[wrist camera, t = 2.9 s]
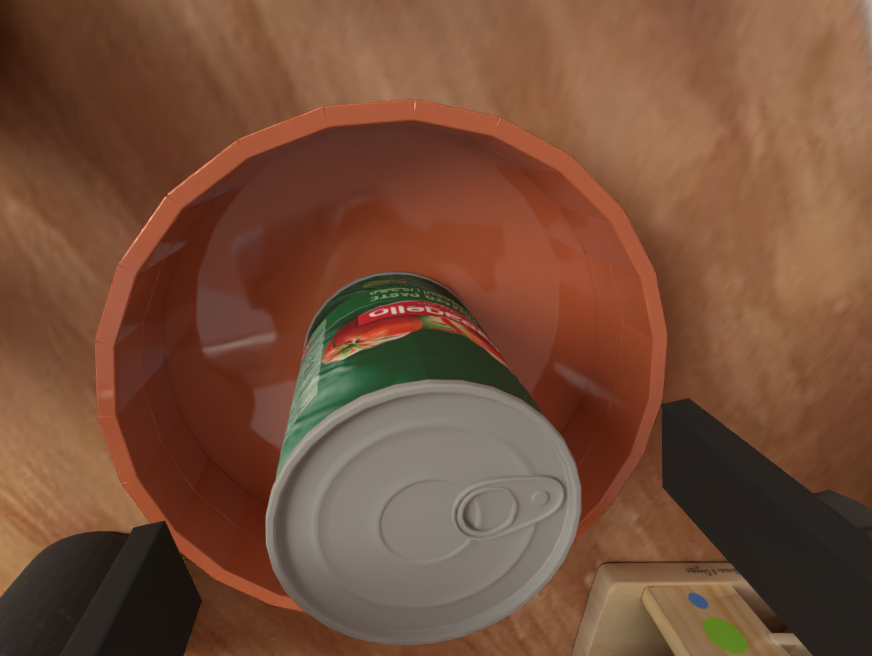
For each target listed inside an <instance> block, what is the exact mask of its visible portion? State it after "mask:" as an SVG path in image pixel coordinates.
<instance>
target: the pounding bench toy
mask: <svg viewBox="0 0 872 656" xmlns="http://www.w3.org/2000/svg"><path fill="white" fill-rule="evenodd" d="M571 656H813V655H812V654H811V653H810V652H809V651H808V650H807V649H806V647H805V646H804V645H803V644H802V643H801V642H800V641H799V640H798V638H797V637H796V636H795V635H794V634H793V633H792V632H791V631H790V629H789V628H788V627H787V626H786V625H785V624H784V623H783V622H782V620H781V619H780V618H779V617H778V616H777V615H776V614H775V613H774V612H773V610H772V609H771V608H770V607H769V606H768V605H767V604H766V603H765V601H764V600H763V599H762V598H761V597H760V596H759V595H758V594H757V592H756V591H755V590H754V589H753V588H752V587H751V586H750V585H749V583H748V582H747V581H746V580H745V579H744V578H743V577H742V576H741V574H740V573H739V572H738V571H737V570H736V569H735V568H734V567H733V566H732V564H731V563H607V564H603V565H601V566H600V567H599V568H598V570H597V573H596V576H595V579H594V582H593V585H592V588H591V591H590V595H589V598H588V601H587V604H586V608H585V612H584V615H583V618H582V621H581V624H580V627H579V631H578V634H577V637H576V641H575V644H574V647H573V650H572V654H571Z"/></svg>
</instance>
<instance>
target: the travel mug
mask: <svg viewBox="0 0 872 656" xmlns="http://www.w3.org/2000/svg"><path fill="white" fill-rule="evenodd" d="M128 536H129V535H125V534H120V533H112V532H91V533H83V534H78V535H74V536H70V537H67V538H64V539H62V540H60V541H57V542H55V543H54V544H52V545H50V546H49V547H47V548H46V549H44V550H43V551H42V552H41V553H39V554H38V555H37V556H36V557H35V558H34V559H33V560H32V561H31V563H30V564H29V565H28V566H27V567H26V568H25V569H24V570H23V572H22V573H21V574H20V575H19V576H18V577H17V579H16V580H15V581H14V582H13V583H12V585H11V586H10V587H9V588H8V589H7V590H6V592H5V593H4V594H3V595H2V597H1V598H0V656H60V654H61V652H62V651H63V649H64V647H65V645H66V644H67V642H68V640H69V638H70V637H71V635H72V633H73V632H74V630H75V628H76V626H77V625H78V623H79V621H80V619H81V618H82V616H83V614H84V612H85V611H86V609H87V607H88V606H89V604H90V602H91V600H92V599H93V597H94V595H95V593H96V592H97V590H98V588H99V587H100V585H101V583H102V581H103V580H104V578H105V576H106V574H107V573H108V571H109V569H110V568H111V566H112V564H113V562H114V561H115V559H116V557H117V555H118V554H119V552H120V550H121V549H122V547H123V545H124V543H125V542H126V540H127V538H128Z"/></svg>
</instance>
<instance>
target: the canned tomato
mask: <svg viewBox="0 0 872 656" xmlns="http://www.w3.org/2000/svg"><path fill="white" fill-rule="evenodd" d="M581 512H582V486H581V482H580V477H579V473H578V469H577V465H576V462H575V459H574V457H573V456H572V454H571V452H570V450H569V448H568V446H567V444H566V442H565V440H564V438H563V437H562V435H561V434H560V433H559V432H558V431H557V430H556V429H555V427H554V426H553V425H552V424H551V423H550V422H549V421H548V419H547V418H546V417H545V416H544V415H543V413H542V411H541V410H540V408H539V406H538V404H537V403H536V402H535V401H534V400H533V399H532V397H531V396H530V394H529V392H528V391H527V390H526V388H525V387H524V386H523V385H522V383H521V381H520V380H519V378H518V377H517V376H516V375H515V374H514V372H513V370H512V369H511V367H510V366H509V365H508V364H507V362H506V360H505V359H504V358H503V357H502V355H501V354H500V352H499V351H498V349H497V348H496V347H495V346H494V344H493V342H492V341H491V340H490V339H489V337H488V336H487V334H486V333H485V332H484V331H483V329H482V327H481V326H480V325H479V324H478V322H477V320H476V319H475V318H474V317H473V316H472V314H471V312H470V310H469V308H468V307H467V306H466V305H465V303H464V302H463V301H462V300H461V299H460V297H459V296H458V295H457V294H455V293H454V292H453V291H451V290H450V289H449V288H448V287H446V286H445V285H444V284H442V283H440V282H438V281H435V280H433V279H431V278H429V277H427V276H423V275H419V274H416V273H412V272H401V271H388V272H380V273H373V274H370V275H367V276H364V277H361V278H358V279H355V280H354V281H352V282H350V283H348V284H347V285H345V286H343V287H341V288H340V289H339V290H337V291H336V292H335V293H334V294H333V295H332V296H330V297H329V298H328V299H327V300H326V301H325V302H324V304H323V305H322V306H321V308H320V309H319V310H318V312H317V313H316V314H315V316H314V318H313V320H312V322H311V324H310V326H309V328H308V331H307V335H306V339H305V343H304V349H303V356H302V360H301V365H300V369H299V374H298V378H297V383H296V387H295V392H294V396H293V400H292V405H291V410H290V415H289V419H288V423H287V428H286V432H285V437H284V442H283V446H282V450H281V455H280V460H279V464H278V468H277V474H276V481H275V483H274V485H273V487H272V490H271V495H270V499H269V503H268V507H267V511H266V547H267V550H268V554H269V558H270V561H271V565H272V569H273V571H274V573H275V574H276V576H277V578H278V580H279V582H280V583H281V585H282V587H283V589H284V590H285V592H286V593H287V594H288V595H289V596H290V597H291V598H292V600H293V601H294V602H295V603H296V604H297V605H298V606H299V607H300V608H301V609H302V610H303V611H304V612H305V613H307V614H308V615H310V616H311V617H313V618H314V619H316V620H317V621H318V622H320V623H321V624H323V625H324V626H326V627H328V628H330V629H333V630H335V631H337V632H340V633H342V634H344V635H346V636H349V637H352V638H356V639H360V640H364V641H368V642H372V643H376V644H389V645H401V646H407V645H422V644H433V643H438V642H443V641H447V640H452V639H457V638H461V637H463V636H466V635H469V634H472V633H474V632H477V631H480V630H483V629H485V628H487V627H489V626H491V625H493V624H495V623H497V622H498V621H500V620H502V619H504V618H506V617H508V616H510V615H511V614H512V613H514V612H515V611H516V610H518V609H519V608H520V607H522V606H523V605H525V604H526V603H527V602H529V601H530V600H531V599H532V598H533V597H534V596H535V595H536V594H537V593H538V592H539V591H540V590H541V589H542V588H543V587H544V586H545V585H546V584H547V583H548V582H549V581H550V580H551V578H552V577H553V576H554V574H555V573H556V571H557V570H558V569H559V567H560V566H561V564H562V563H563V561H564V560H565V558H566V556H567V554H568V552H569V550H570V547H571V545H572V543H573V541H574V539H575V537H576V533H577V529H578V525H579V520H580V516H581Z"/></svg>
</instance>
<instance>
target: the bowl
mask: <svg viewBox="0 0 872 656" xmlns="http://www.w3.org/2000/svg"><path fill="white" fill-rule="evenodd" d="M388 271H401V272H412V273H416V274H419V275H423V276H427V277H429V278H431V279H433V280H435V281H438V282H440V283H442V284H444V285H445V286H446V287H448V288H449V289H450V290H451V291H453V292H454V293H455V294H457V295H458V296H459V297H460V299H461V300H462V301H463V302H464V303H465V305H466V306H467V307H468V308H469V310H470V312H471V314H472V316H473V317H474V318H475V319H476V320H477V322H478V324H479V325H480V326H481V327H482V329H483V331H484V332H485V333H486V334H487V336H488V337H489V339H490V340H491V341H492V342H493V344H494V346H495V347H496V348H497V349H498V351H499V352H500V354H501V355H502V357H503V358H504V359H505V360H506V362H507V364H508V365H509V366H510V367H511V369H512V370H513V372H514V374H515V375H516V376H517V377H518V378H519V380H520V381H521V383H522V385H523V386H524V387H525V388H526V390H527V391H528V392H529V394H530V396H531V397H532V399H533V400H534V401H535V402H536V403H537V404H538V406H539V408H540V410H541V411H542V413H543V415H544V416H545V417H546V418H547V419H548V421H549V422H550V423H551V424H552V425H553V426H554V427H555V429H556V430H557V431H558V432H559V433H560V434H561V435H562V437H563V438H564V440H565V442H566V444H567V446H568V448H569V450H570V452H571V454H572V456H573V457H574V459H575V462H576V465H577V469H578V473H579V477H580V482H581V486H582V512H581V516H580V520H579V525H578V529H577V533H576V537H575V539H574V541H573V543H574V542H575V541H576V540H577V539H578V538H579V537H580V536H581V535H582V534H583V533H584V532H585V531H586V530H587V529H588V528H589V527H590V526H591V525H592V524H593V523H594V522H595V521H596V520H597V519H598V518H599V517H600V516H601V515H602V514H603V513H604V512H605V511H606V510H607V509H608V508H609V507H610V506H611V504H612V503H613V501H614V500H615V498H616V497H617V495H618V493H619V492H620V490H621V489H622V487H623V486H624V484H625V483H626V481H627V479H628V478H629V476H630V475H631V473H632V472H633V470H634V469H635V467H636V465H637V464H638V462H639V461H640V459H641V458H642V455H643V453H644V450H645V447H646V445H647V442H648V439H649V436H650V433H651V430H652V427H653V425H654V422H655V419H656V416H657V413H658V410H659V408H660V405H661V402H662V397H663V388H664V376H665V364H666V352H667V340H668V337H667V329H666V324H665V318H664V313H663V308H662V303H661V298H660V293H659V287H658V282H657V277H656V273H655V272H654V271H655V270H654V268H653V266H652V264H651V262H650V260H649V258H648V256H647V254H646V252H645V250H644V248H643V247H642V245H641V243H640V241H639V239H638V237H637V235H636V233H635V231H634V229H633V227H632V225H631V223H630V222H629V220H628V218H627V216H626V214H625V212H624V211H623V209H622V207H621V206H620V205H619V204H618V203H617V202H616V201H615V200H614V199H613V198H612V197H611V196H610V195H609V194H608V193H607V192H606V191H605V190H604V189H603V188H602V187H601V186H600V185H599V184H598V183H597V182H596V181H595V180H594V179H593V178H592V177H591V176H590V175H589V174H588V173H587V172H586V171H585V170H584V169H583V168H582V167H581V166H580V165H579V164H578V163H577V162H576V161H575V159H574V158H573V157H570V155H568V154H567V153H565V152H563V151H561V150H559V149H557V148H556V147H554V146H552V145H550V144H548V143H546V142H545V141H543V140H541V139H539V138H537V137H535V136H534V135H532V134H530V133H528V132H526V131H524V130H523V129H521V128H519V127H517V126H515V125H513V124H512V123H510V122H508V121H506V120H504V119H502V118H499V117H497V116H492V115H488V114H483V113H478V112H474V111H469V110H464V109H459V108H455V107H450V106H445V105H440V104H436V103H431V102H426V101H422V100H413V99H407V100H395V101H382V102H369V103H356V104H344V105H331V106H325V107H320V108H317V109H314V110H312V111H309V112H307V113H304V114H301V115H299V116H296V117H293V118H291V119H288V120H286V121H283V122H280V123H278V124H275V125H273V126H270V127H267V128H265V129H262V130H259V131H257V132H254V133H252V134H249V135H246V136H244V137H241V138H239V139H238V140H236V141H234V142H233V143H232V144H230V145H229V146H228V147H226V148H225V149H224V150H223V151H221V152H220V153H219V154H217V155H216V156H215V157H213V158H212V159H211V160H210V161H208V162H207V163H206V164H204V165H203V166H202V167H201V168H199V169H198V170H197V171H195V172H194V173H193V174H192V175H190V176H189V177H188V178H186V179H185V180H184V181H183V182H181V183H180V184H179V185H177V186H176V187H175V188H173V189H172V190H171V191H170V192H168V194H167V195H166V196H165V197H164V198H163V200H162V201H161V202H160V204H159V205H158V207H157V208H156V210H155V211H154V212H153V214H152V215H151V217H150V218H149V220H148V221H147V223H146V224H145V225H144V227H143V228H142V230H141V231H140V233H139V234H138V236H137V237H136V238H135V240H134V241H133V243H132V244H131V246H130V247H129V249H128V250H127V251H126V253H125V254H124V256H123V257H122V259H121V260H120V262H119V265H118V266H117V267H116V271H115V274H114V277H113V281H112V284H111V287H110V291H109V294H108V298H107V301H106V304H105V308H104V311H103V314H102V318H101V321H100V324H99V328H98V331H97V335H96V338H95V341H96V342H95V363H96V394H97V415H98V416H97V418H98V421H99V424H100V426H101V429H102V432H103V435H104V438H105V440H106V443H107V446H108V449H109V451H110V454H111V457H112V460H113V463H114V465H115V468H116V471H117V474H118V476H119V479H120V482H121V483H122V485H123V487H124V488H125V489H126V491H127V492H128V493H129V495H130V496H131V497H132V499H133V500H134V501H135V503H136V504H137V506H138V507H139V508H140V510H141V511H142V512H143V514H144V515H145V516H146V518H147V519H148V520H149V522H150V523H151V524H152V523H156V522H160V521H164V520H165V521H166V524H167V526H168V528H169V530H170V532H171V535H172V537H173V539H174V541H175V543H176V545H177V548H178V550H179V552H181V553H182V554H183V555H184V556H186V557H187V558H188V559H190V560H191V561H192V562H193V563H195V564H196V565H197V566H198V567H200V568H201V569H202V570H204V571H205V572H206V573H207V574H209V575H210V576H211V577H212V578H214V579H215V580H217V581H219V582H222V583H224V584H226V585H228V586H231V587H233V588H235V589H237V590H239V591H242V592H244V593H246V594H248V595H250V596H253V597H255V598H257V599H259V600H261V601H264V602H266V603H268V604H270V605H274V606H278V607H283V608H288V609H292V610H297V611H302V612H304V611H303V610H302V609H301V608H300V607H299V606H298V605H297V604H296V603H295V602H294V601H293V600H292V598H291V597H290V596H289V595H288V594H287V593H286V592H285V590H284V589H283V587H282V585H281V583H280V582H279V580H278V578H277V576H276V574H275V573H274V571H273V569H272V565H271V561H270V558H269V554H268V550H267V547H266V511H267V507H268V503H269V499H270V495H271V490H272V487H273V485H274V483H275V481H276V474H277V468H278V464H279V460H280V455H281V450H282V446H283V442H284V437H285V432H286V428H287V423H288V419H289V415H290V410H291V405H292V400H293V396H294V392H295V387H296V383H297V378H298V374H299V369H300V365H301V360H302V356H303V349H304V343H305V339H306V335H307V331H308V328H309V326H310V324H311V322H312V320H313V318H314V316H315V314H316V313H317V312H318V310H319V309H320V308H321V306H322V305H323V304H324V302H325V301H326V300H327V299H328V298H329V297H330V296H332V295H333V294H334V293H335V292H336V291H337V290H339V289H340V288H341V287H343V286H345V285H347V284H348V283H350V282H352V281H354V280H355V279H358V278H361V277H364V276H367V275H370V274H373V273H380V272H388ZM573 543H572V544H573Z"/></svg>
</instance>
